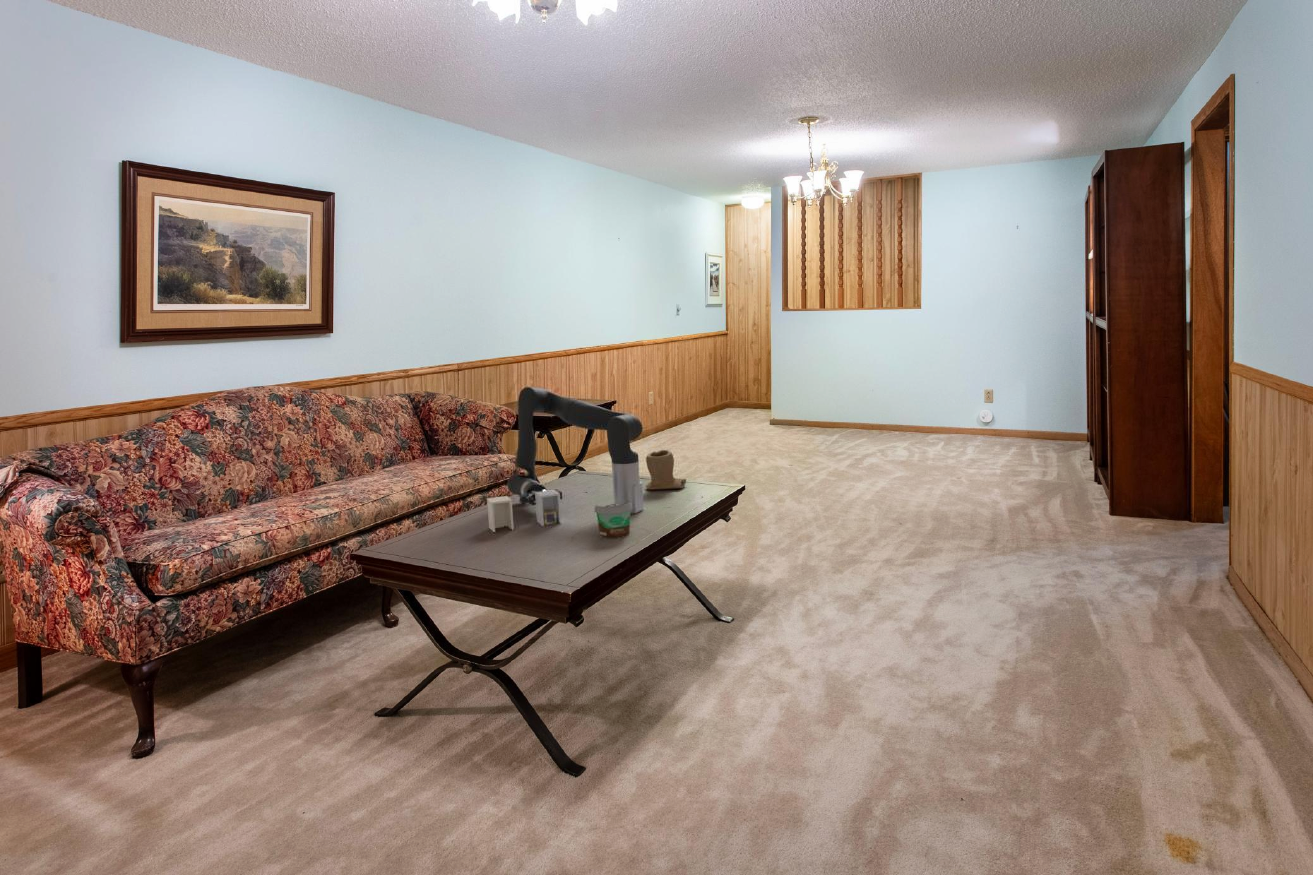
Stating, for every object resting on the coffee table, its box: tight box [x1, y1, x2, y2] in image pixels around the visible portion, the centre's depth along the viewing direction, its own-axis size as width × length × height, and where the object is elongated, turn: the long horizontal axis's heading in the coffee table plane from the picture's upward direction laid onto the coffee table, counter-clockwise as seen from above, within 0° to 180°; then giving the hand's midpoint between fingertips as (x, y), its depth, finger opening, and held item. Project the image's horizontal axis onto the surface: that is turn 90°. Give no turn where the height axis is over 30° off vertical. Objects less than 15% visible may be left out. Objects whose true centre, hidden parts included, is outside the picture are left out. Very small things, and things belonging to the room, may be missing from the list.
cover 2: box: [535, 489, 563, 527], centre depth 281 cm, size 7×7×10 cm
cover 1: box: [486, 495, 515, 533], centre depth 275 cm, size 7×7×10 cm
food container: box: [594, 500, 632, 539], centre depth 260 cm, size 12×6×10 cm, turn 117°
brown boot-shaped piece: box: [645, 449, 687, 490], centre depth 324 cm, size 15×12×15 cm
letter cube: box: [543, 509, 557, 525], centre depth 281 cm, size 4×4×4 cm
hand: (545, 500), depth 283 cm, fingers open, 8 cm apart
